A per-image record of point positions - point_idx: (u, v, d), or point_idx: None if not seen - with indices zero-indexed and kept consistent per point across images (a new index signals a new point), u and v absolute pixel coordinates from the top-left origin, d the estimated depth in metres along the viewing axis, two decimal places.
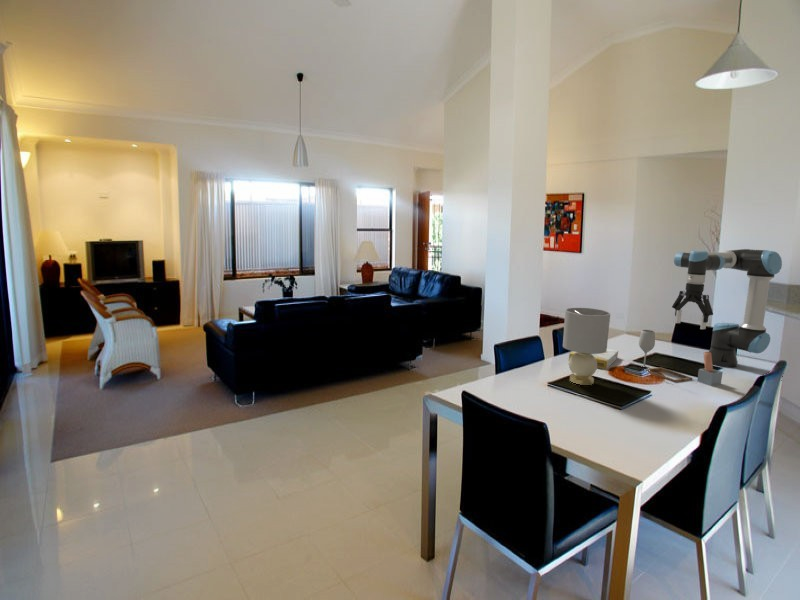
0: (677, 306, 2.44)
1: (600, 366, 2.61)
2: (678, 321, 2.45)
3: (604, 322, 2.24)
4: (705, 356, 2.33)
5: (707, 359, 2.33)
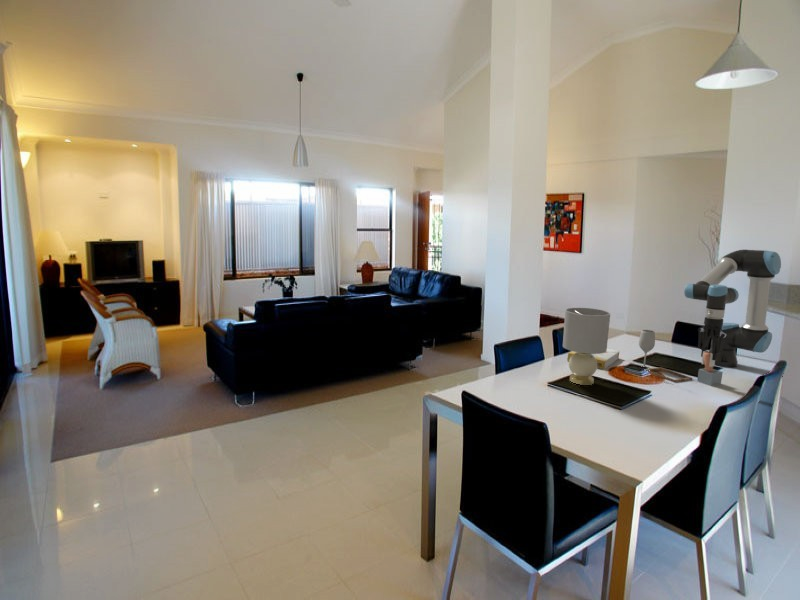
0: (702, 346, 2.36)
1: (598, 366, 2.61)
2: None
3: (604, 322, 2.24)
4: (705, 356, 2.33)
5: (707, 359, 2.33)
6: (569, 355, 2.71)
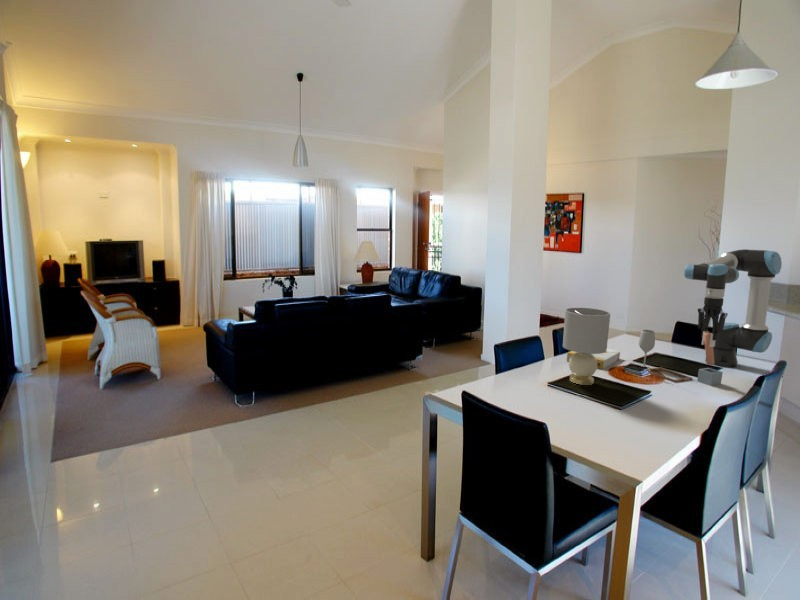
0: (702, 326, 2.33)
1: (597, 366, 2.61)
2: (704, 343, 2.34)
3: (604, 322, 2.24)
4: (705, 336, 2.31)
5: (707, 340, 2.31)
6: (568, 355, 2.71)
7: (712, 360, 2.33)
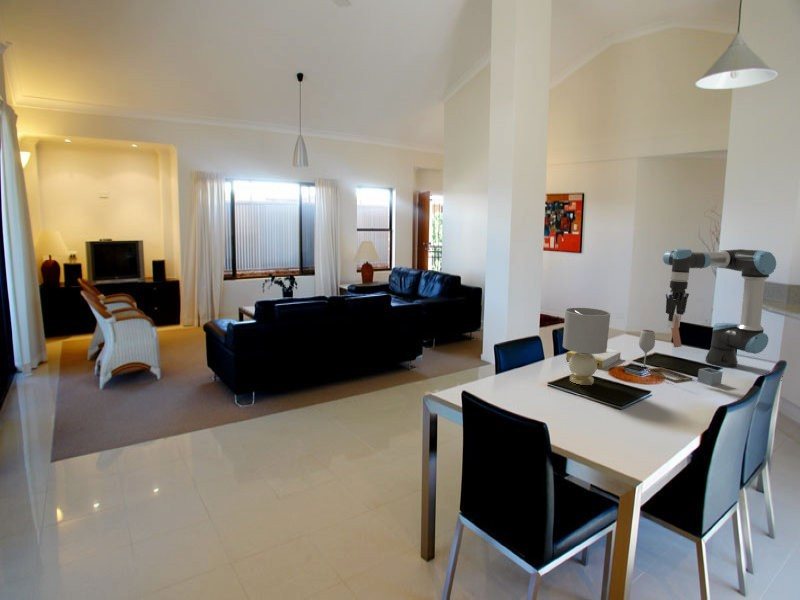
0: None
1: None
2: None
3: (604, 322, 2.24)
4: None
5: None
6: (568, 354, 2.72)
7: (674, 342, 2.41)
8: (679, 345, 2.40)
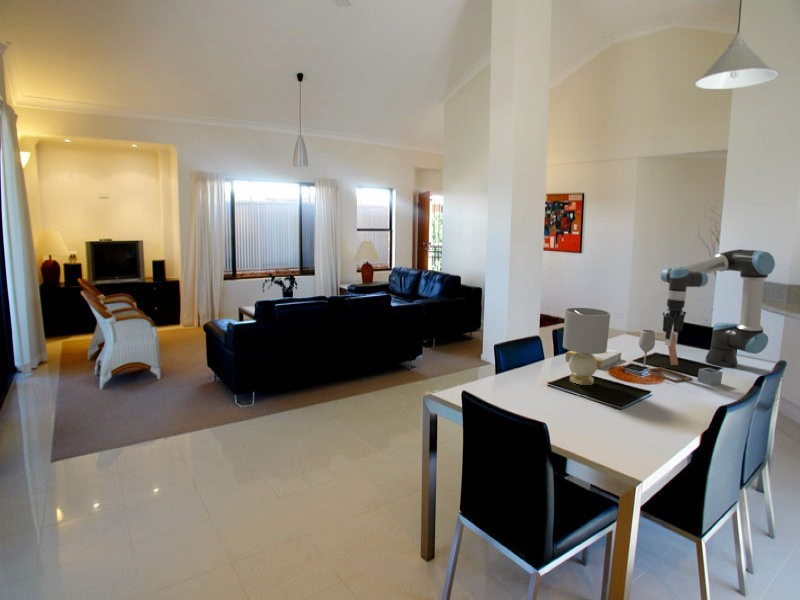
0: None
1: None
2: None
3: (604, 322, 2.24)
4: None
5: None
6: (567, 354, 2.72)
7: (671, 360, 2.43)
8: (676, 363, 2.41)
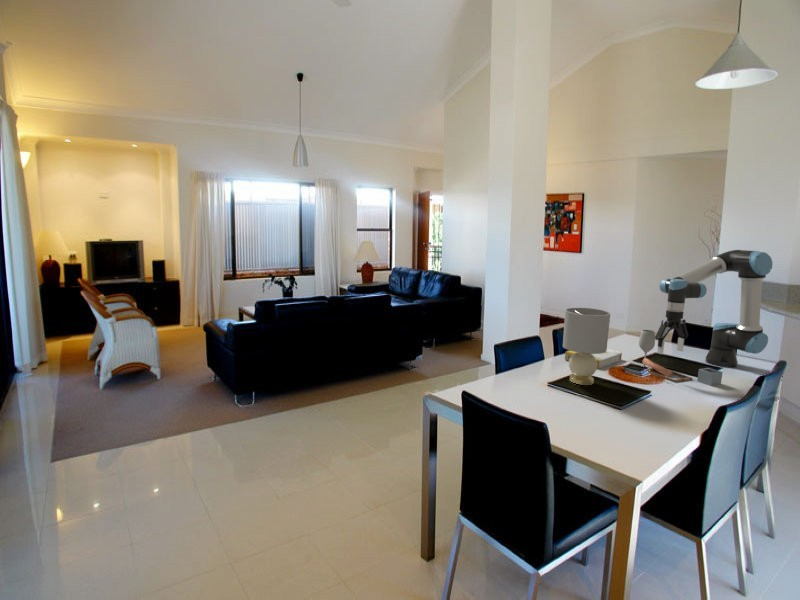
0: None
1: None
2: (678, 349, 2.48)
3: (604, 322, 2.24)
4: None
5: None
6: (566, 354, 2.73)
7: (663, 373, 2.47)
8: (668, 371, 2.46)
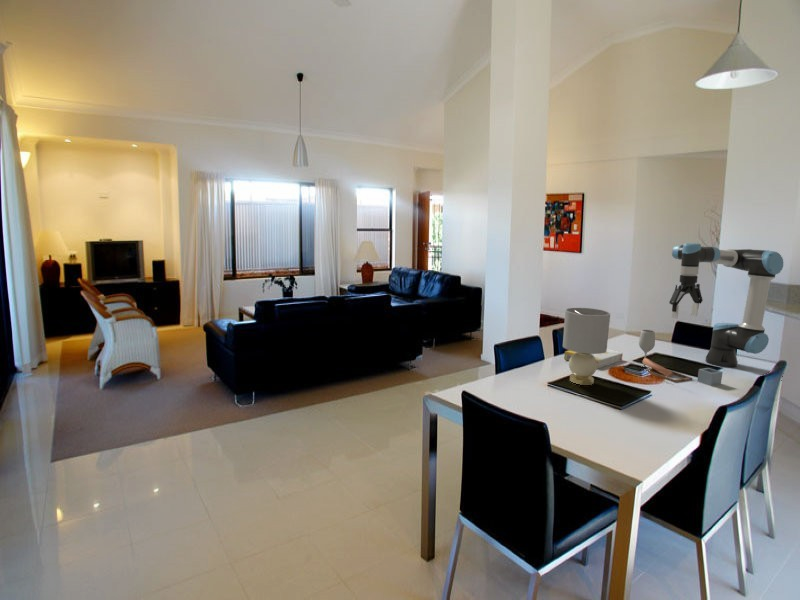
0: None
1: None
2: (693, 314, 2.46)
3: (604, 322, 2.24)
4: None
5: None
6: (565, 353, 2.74)
7: (663, 373, 2.47)
8: (668, 371, 2.46)
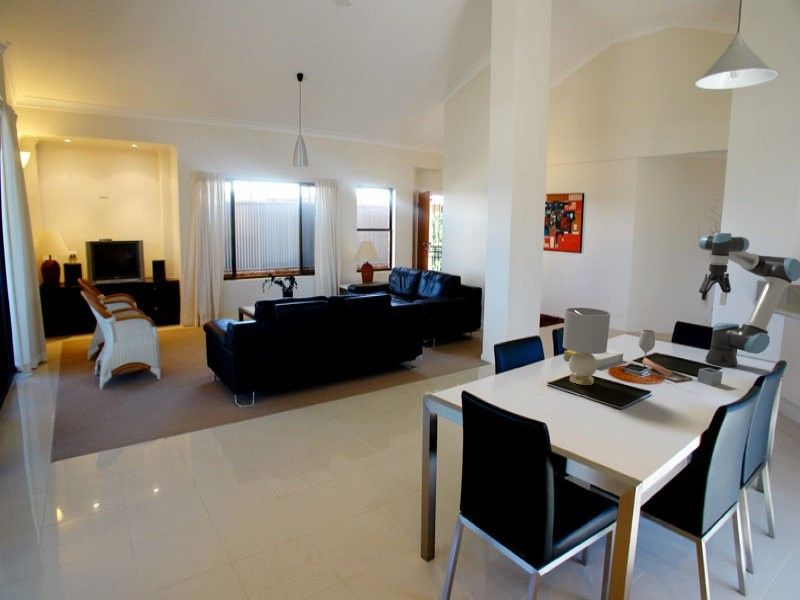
0: None
1: None
2: (721, 303, 2.50)
3: (604, 322, 2.24)
4: None
5: None
6: (565, 353, 2.75)
7: (663, 373, 2.47)
8: (668, 371, 2.46)
